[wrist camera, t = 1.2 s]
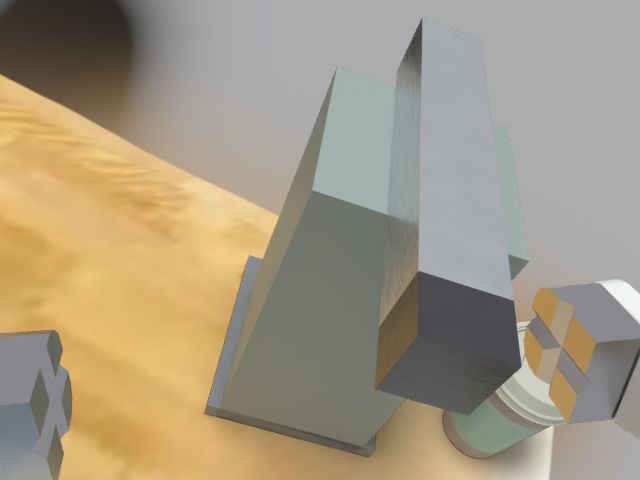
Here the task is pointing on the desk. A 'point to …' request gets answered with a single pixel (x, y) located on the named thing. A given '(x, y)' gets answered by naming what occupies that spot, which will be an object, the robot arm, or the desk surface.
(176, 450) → the desk surface
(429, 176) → the lever bar
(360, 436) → the press column
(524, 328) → the coffee cup
